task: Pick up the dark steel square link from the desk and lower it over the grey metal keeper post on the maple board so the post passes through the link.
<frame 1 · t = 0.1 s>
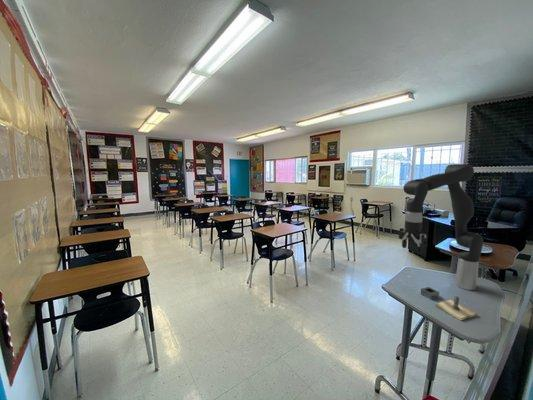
hand: (411, 250, 119), 29 cm above the table, fingers open, 8 cm apart
link: (429, 295, 128), on the table
keeper: (455, 310, 114), on the table
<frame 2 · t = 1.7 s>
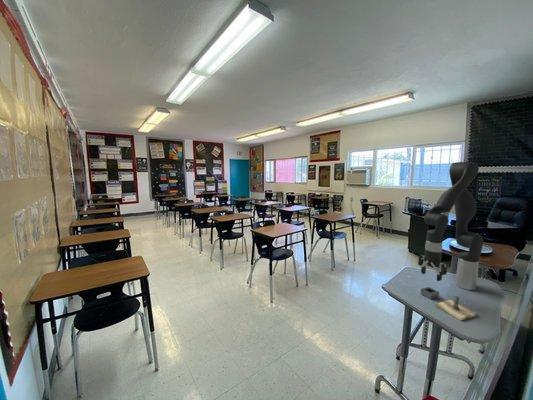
hand: (430, 277, 126), 11 cm above the table, fingers open, 8 cm apart
nothing on the table moved.
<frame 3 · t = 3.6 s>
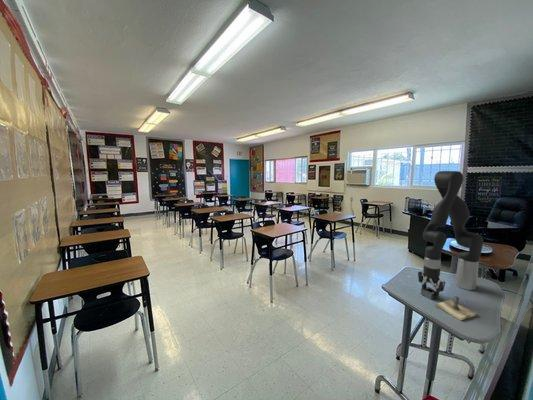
hand: (429, 293, 128), 1 cm above the table, fingers closed on link, 6 cm apart
link: (429, 295, 128), on the table, touching gripper
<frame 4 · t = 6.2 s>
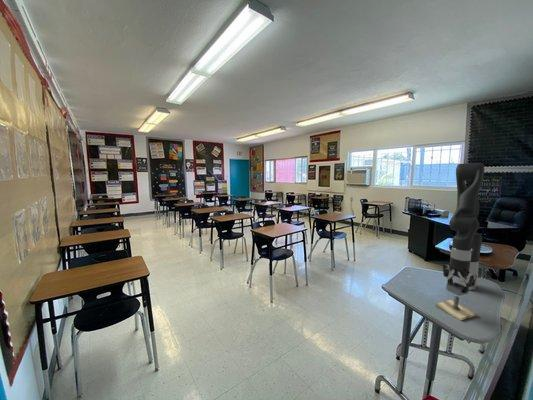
hand: (457, 289, 113), 11 cm above the table, fingers closed on link, 6 cm apart
link: (456, 291, 113), point 10 cm above the table, touching gripper
when the fingers open (3 cm above the table, at t = 8.8 s): link stays where it is, resting on keeper.
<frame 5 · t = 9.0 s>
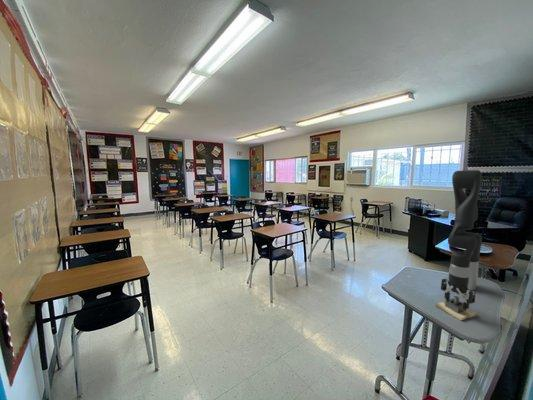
hand: (455, 304, 114), 4 cm above the table, fingers open, 8 cm apart
link: (455, 308, 114), point 1 cm above the table, touching keeper
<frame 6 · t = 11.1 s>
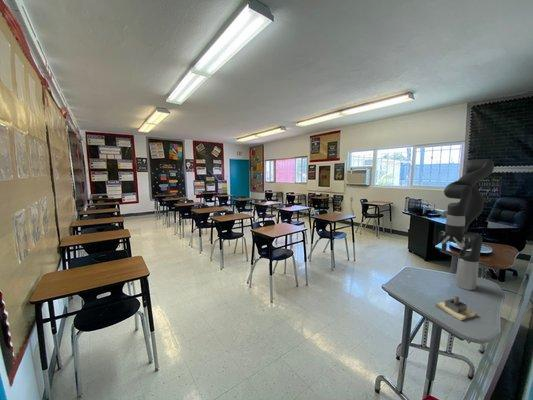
hand: (452, 253, 119), 27 cm above the table, fingers open, 8 cm apart
nothing on the table moved.
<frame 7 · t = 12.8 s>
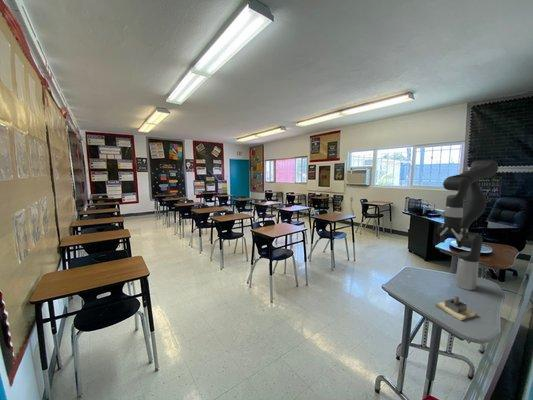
hand: (450, 244, 122), 30 cm above the table, fingers open, 8 cm apart
nothing on the table moved.
at the end: link 0.0 cm off-centre on the keeper, point 1.2 cm above the keeper's base; the gripper is holding nothing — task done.
